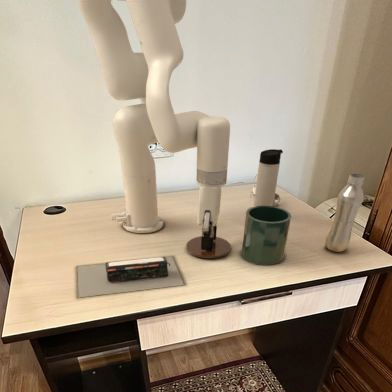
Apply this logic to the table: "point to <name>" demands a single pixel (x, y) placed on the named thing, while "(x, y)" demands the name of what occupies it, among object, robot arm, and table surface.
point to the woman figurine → (276, 198)
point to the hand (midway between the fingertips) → (208, 243)
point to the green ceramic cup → (265, 234)
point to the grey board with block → (127, 276)
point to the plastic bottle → (345, 213)
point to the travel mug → (267, 177)
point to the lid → (219, 250)
